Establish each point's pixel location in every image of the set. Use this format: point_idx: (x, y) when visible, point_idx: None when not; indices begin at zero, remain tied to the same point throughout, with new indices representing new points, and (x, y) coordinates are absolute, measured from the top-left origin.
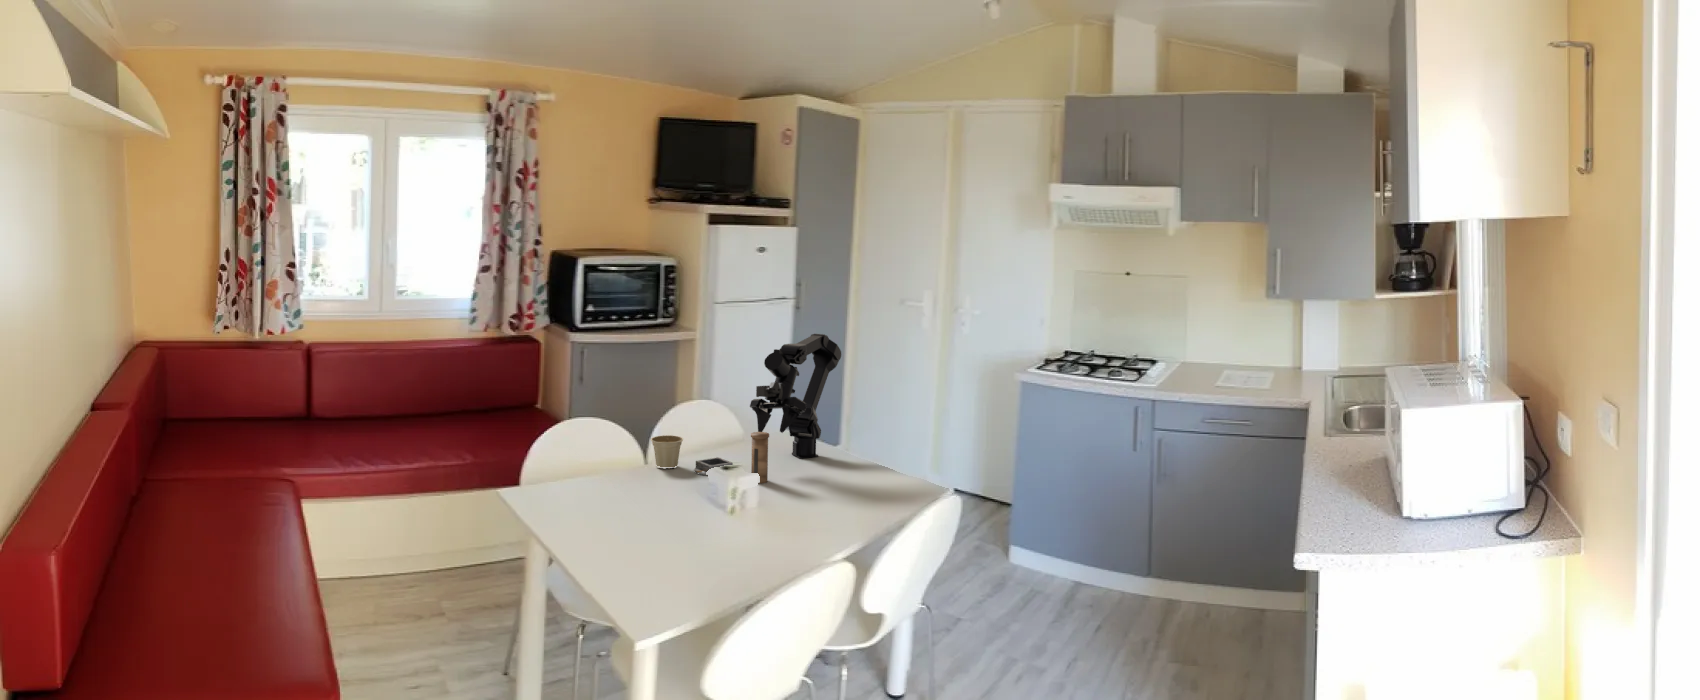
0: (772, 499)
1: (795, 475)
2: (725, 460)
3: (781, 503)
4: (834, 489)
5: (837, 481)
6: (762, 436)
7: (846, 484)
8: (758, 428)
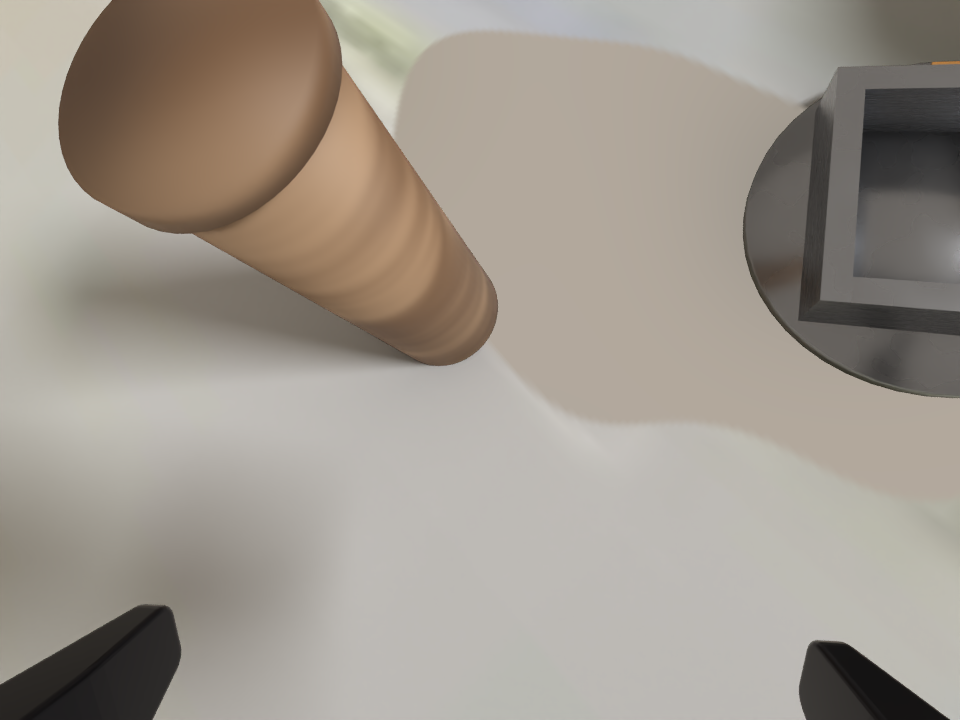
0: None
1: (366, 624)
2: (955, 299)
3: None
4: (25, 526)
5: None
6: (93, 37)
7: None
8: (896, 697)
